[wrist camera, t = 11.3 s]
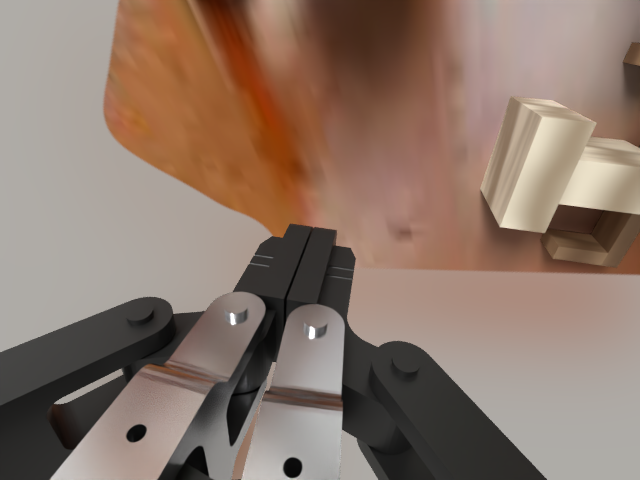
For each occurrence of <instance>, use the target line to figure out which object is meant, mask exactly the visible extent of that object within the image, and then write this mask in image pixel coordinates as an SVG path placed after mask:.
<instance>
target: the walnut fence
mask: <svg viewBox="0 0 640 480" xmlns="http://www.w3.org/2000/svg"><path fill="white" fill-rule="evenodd" d="M623 63H629V64H634V65H639V66H640V43H633V42H632V44H631V46H630V48H629V50H628V52H627V54H626V57H625V59H624V61H623ZM639 148H640V146H639ZM639 232H640V214H632V213H624V212H616V211H609V210H604V212H603V213H602V215H601V217H600V219H599V221H598V222H597V224H596V226H595V228H594V230H593V232H592V233H591V234H584V233H576V232H569V231H562V230H554V229H547V230H546V232H545V233H543V235H542V237H541V239H540V240H541V242H542V243H543V245H544V246H545V248H546V249H547V251H548V252H549V254H550V255H551V257H552V258H553V259H559V260H566V261H573V262H580V263H587V264H594V265H601V266H608V267H615V268H617V267H618V265H619V263H620V262H621V260H622V259H623V257H624V256H625V254H626V252H627V251H628V249H629V248H630V246H631V244H632V243H633V241H634V240H635V238H636V236H637V235H638V233H639Z"/></svg>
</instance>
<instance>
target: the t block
mask: <svg viewBox="0 0 640 480" xmlns="http://www.w3.org/2000/svg"><path fill="white" fill-rule="evenodd" d="M595 125H596V122H594V121H592V120H590V119H588V118H586V117H584V116H582V115H580V114H578V113H576V112H574V111H572V110H571V109H569V108H567V107H565V106H563V105H561V104H559V103H557V102H555V101H552V100H542V99H532V98H522V97H512V96H511V97H510V100H509V103H508V106H507V109H506V112H505V116H504V119H503V122H502V125H501V128H500V131H499V134H498V137H497V140H496V143H495V146H494V149H493V152H492V155H491V158H490V161H489V164H488V167H487V170H486V173H485V176H484V179H483V182H482V185H481V188H480V189H481V191H482V193H483V195H484V197H485V199H486V201H487V203H488V205H489V207H490V209H491V211H492V213H493V215H494V217H495V218H496V220H497V222H498V224H499V226H500V227H503V228H511V229H518V230H525V231H532V232H540V233H545V232H546V230H547V228H548V226H549V223H550V221H551V219H552V217H553V215H554V213H555V211H556V209H557V206H558V204H562V205H570V206H578V207H585V208H593V209H601V210H609V211H616V212H624V213H632V214H640V148H638V147H637V146H635V145H633V144H631V143H629V142H627V141H625V140H617V139H608V138H599V137H590V136H591V134H592V132H593V130H594V128H595Z"/></svg>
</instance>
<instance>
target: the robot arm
mask: <svg viewBox="0 0 640 480" xmlns="http://www.w3.org/2000/svg"><path fill="white" fill-rule="evenodd" d="M336 236H337V230H331V229H324V228H318V227H314V228H313V227H310V226H303V225H296V224H290V225H289V227H288V229H287V231H286V233H285V235H284V237H283V238H280V237H273V236H272V237H270V238H269V239H267V240H266V241H264V242H263V243H261V244H260V246H259V248H258V249H257V251H256V253H255V256H253V258H252V260H251V261H250V264H249V265H248V266H247V268H246V270H245V272H244V273H243V275H242V277H241V278H240V280H239V282H238V283H237V285H236V287H235V289H234V291H233V292H232V293H228V294H225V295H222V296H220V297H218V298H217V299H216V300H214V301H213V302H212V303H211V304H210V306H209V307H208V308H207V310H206V311H202V312H194V313H193V312H192V313H179V314H173V310H172V307H171V305H170V304H169V303H168V302H167V301H166V300H164V299H161V298H157V297H143V298H138V299H135V300H131V301H129V302H126V303H124V304H121V305H119V306H116V307H114V308H111V309H109V310H107V311H104V312H101V313H99V314H96V315H94V316H91V317H88V318H86V319H84V320H81V321H78V322H76V323H73V324H71V325H68V326H66V327H63V328H61V329H58V330H56V331H53V332H51V333H48V334H46V335H43V336H41V337H38V338H36V339H33V340H31V341H28V342H25V343H23V344H20V345H18V346H16V347H13V348H11V349H8V350H5V351H3V352H0V480H231V478H232V473H233V467H234V463H235V459H236V456H237V453H238V451H239V448H240V446H241V444H242V441H243V439H244V437H245V434H246V432H247V430H248V428H249V425H250V423H251V421H252V418H253V416H254V414H255V411H256V409H257V407H258V405H259V402H260V400H261V398H262V395H263V393H264V391H265V388H266V385H267V376H268V373H269V370H270V367H271V365H272V362H276V366H275V370H274V374H273V379H272V382H271V386H270V389H269V391H265V393H264V396H263V399H262V402H261V405H260V409H259V413H258V417H257V421H256V425H255V429H254V433H253V436H252V440H251V444H250V448H249V452H248V456H247V460H246V464H245V468H244V471H243V475H242V479H239V480H340V460H341V459H340V458H341V438H342V437H341V436H342V430H344V431H346V432H347V433H349V434H351V435H352V436H354V437H356V438H357V442H358V445H359V447H360V449H361V451H362V453H363V455H364V456H365V458H366V460H367V461H368V463H369V465H370V466H371V468H372V469H373V471H374V473H375V475H376V476H377V478H378V480H547V479H546V478H545V477H544V476H543V475H542V474H541V473H540V472H539V471H538V470H537V469H536V467H535V466H534V465H533V464H532V463H531V462H530V461H529V460H528V459H527V458H526V457H525V456H524V455H523V454H522V453H521V452H520V451H519V450H518V448H517V447H516V446H515V445H514V444H513V443H512V442H511V441H510V440H509V439H508V438H507V437H506V436H505V435H504V434H503V433H502V432H501V430H499V428H498V427H497V426H496V425H495V424H494V423H493V422H492V421H491V420H490V419H489V418H488V417H487V416H486V415H485V414H484V413H483V412H482V410H481V409H480V408H479V407H478V406H477V405H476V404H475V403H474V402H473V401H472V400H471V399H470V398H469V397H468V396H467V395H466V394H465V393H464V392H463V390H461V388H460V387H459V386H458V385H457V384H456V383H455V382H454V381H453V380H452V379H451V378H450V377H449V376H448V375H447V374H446V373H445V372H444V370H443V369H442V368H441V367H440V366H439V365H438V364H437V363H436V362H435V361H434V360H433V359H432V358H431V357H430V356H429V355H428V354H427V353H426V352H425V351H424V350H422V349H421V348H419V347H417V346H415V345H413V344H411V343H407V342H402V341H392V342H387V343H384V344H383V345H381V346H379V347H376V346H374V345H372V344H370V343H368V342H365V341H364V340H362V339H361V338H359V337H358V336H357V335H356V334H355V333H354V332H353V331H352V330H351V328H350V327H349V324H348V322H347V313H348V307H349V299H350V293H351V286H352V279H353V272H354V266H355V259H356V258H355V256H354V254H353V252H352V250H351V248H347V247H341V246H335V245H336ZM119 369H122V372H123V375H122V376H120V377H118V378H116V379H114V380H112V381H110V382H108V383H106V384H104V385H102V386H100V387H98V388H96V389H94V390H92V391H90V392H88V393H86V394H84V395H82V396H80V397H78V398H76V399H74V400H72V401H70V402H68V403H64V404H54V403H55V402H56V401H57V400H59V399H61V398H62V397H64V396H66V395H68V394H70V393H72V392H74V391H76V390H78V389H80V388H82V387H84V386H86V385H88V384H90V383H93V382H95V381H96V380H98V379H101V378H103V377H105V376H107V375H109V374H111V373H112V372H115V371H117V370H119Z"/></svg>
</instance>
